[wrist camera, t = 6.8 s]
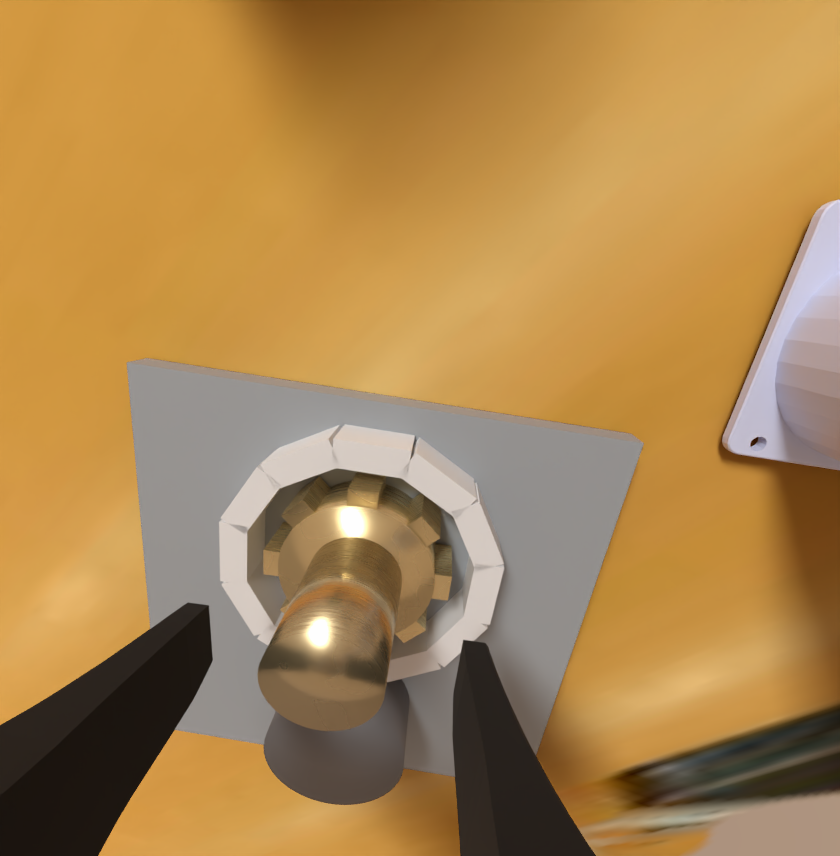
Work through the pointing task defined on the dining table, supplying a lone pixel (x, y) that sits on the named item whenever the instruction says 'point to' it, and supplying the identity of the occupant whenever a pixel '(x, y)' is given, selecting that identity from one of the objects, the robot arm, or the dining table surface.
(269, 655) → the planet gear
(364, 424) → the carrier plate
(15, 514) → the dining table surface
